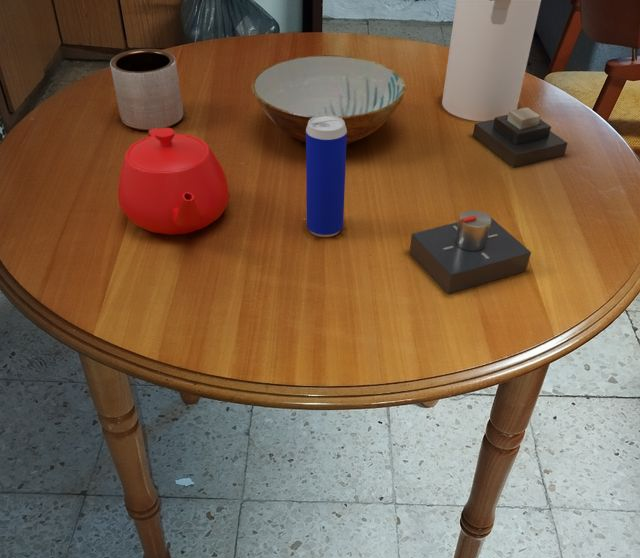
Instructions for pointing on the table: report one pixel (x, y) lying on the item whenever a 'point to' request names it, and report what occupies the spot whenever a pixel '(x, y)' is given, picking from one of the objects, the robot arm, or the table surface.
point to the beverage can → (325, 174)
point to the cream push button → (523, 118)
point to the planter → (147, 88)
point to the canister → (488, 59)
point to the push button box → (519, 141)
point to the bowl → (328, 93)
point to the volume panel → (468, 257)
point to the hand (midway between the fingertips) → (495, 10)
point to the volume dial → (473, 230)
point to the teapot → (172, 183)
